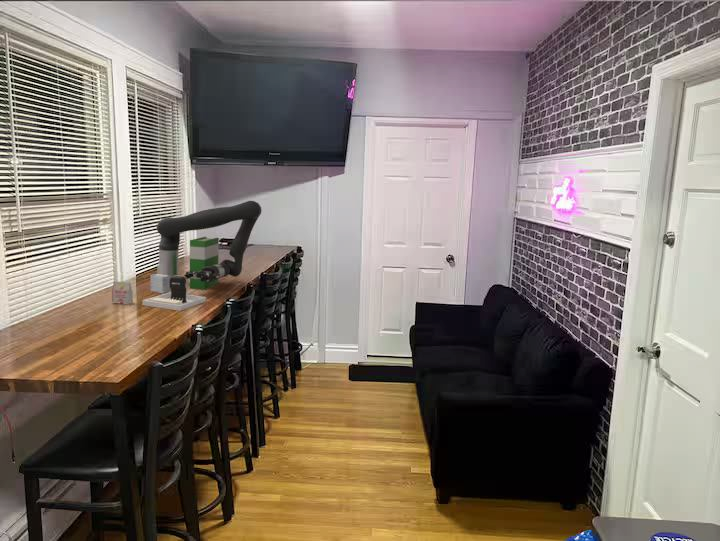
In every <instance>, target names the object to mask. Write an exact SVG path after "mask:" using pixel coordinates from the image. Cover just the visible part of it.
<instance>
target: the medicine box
mask: <svg viewBox="0 0 720 541" xmlns="http://www.w3.org/2000/svg"><path fill="white" fill-rule="evenodd" d="M149 280H150V292H151V291H153V292H152V293H159V294H166V293H169V292H171V288H169V280H170V276H167V275H162V274H157V273H154V274H150V278H149Z"/></svg>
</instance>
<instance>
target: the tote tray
mask: <svg viewBox="0 0 720 541" xmlns="http://www.w3.org/2000/svg"><path fill="white" fill-rule="evenodd" d="M154 298H164V299H171V291H170V292H169V293H162V294H159V295H156V296H153V297H149V298H146V299H143V300H142V306H144V305H145V307H152V308H157V309H158V308H159V309H165V310H171V311H172V310H174V311H179V312H180V311H184V310H187V309H190V308H192V307H194V306H197V305H200V304H203V303H206V301H207V296H200V295H193V294H187V302H184V303H182V305H174V304H168V303H161V302H154V301H151V299H154Z"/></svg>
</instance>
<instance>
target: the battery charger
mask: <svg viewBox="0 0 720 541" xmlns="http://www.w3.org/2000/svg"><path fill="white" fill-rule="evenodd" d="M169 288H170V292H171V300H179V301H182V303H184V302H187V295H188V279H187V278H186V277H185V276H184V275H179V276H178V275H174V276H172V277H171V278H170V280H169Z"/></svg>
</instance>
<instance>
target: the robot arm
mask: <svg viewBox="0 0 720 541" xmlns="http://www.w3.org/2000/svg"><path fill="white" fill-rule="evenodd" d="M261 215H262V207H261V205H260V204H259V202H256V201H255V200H247V201H244V202H241V203H239V204H235V205H231V206H224V207H213V208H208V209H204V210H200V211H196V212H193V213H190V214H188V215H184V216H180V217H169V216H168V217H164V218H162V219H161V220H159V221H158V222H157V225H156V231H157V233H159V235H160V242H159V243H158V264H157V265H156V266H157V267H156V268H157V270H156V271H157V273H156V274H162V275H167V276H170V278H171V277H172V276H174V275H178V276H180V275H179V273H180V272H179V271H180V270H179V268H180V267H179V256H180V255H179V251H180V249H179V246H180V241H181V234H182V233H185V232H190V231H199V230H208V229H212V228H216V227H221V226H223V225H226V224H228V223H231V222H236V221H241V220H242V221H241V223H240V226H239V228H238V230H237V232H236V234H235V235H234V236H235V237H234V238H233V242H232V244H231V247H230V249H229V252H228V253H229V256H231V257H233V259H234V261H233V260H230V259H224V260H222V261H221V262H220V263H218V264H215V265H210V266H206V267H204V268H203V269H202V270H201V271H195V270H193V271H190V270H189V271H186V272H185V274H184V275H183V276H185V277H186V278H187V280H190V278H194V279H201V282H203V281H206V282H211V281H215V280H218V281H219V280H220V279H223V278H225V277H228V276H232V277H234V278H237V277H239V276H240V275H241V273H242V271H243V260H244V253H245V251H246V249H247V245H248V243H249V240H250V237H251V234H252V231H253V230H254V226H255V224H256V223H257V221H258V219H259V217H260V216H261ZM196 275H197V277H196ZM192 276H193V277H192Z"/></svg>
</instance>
